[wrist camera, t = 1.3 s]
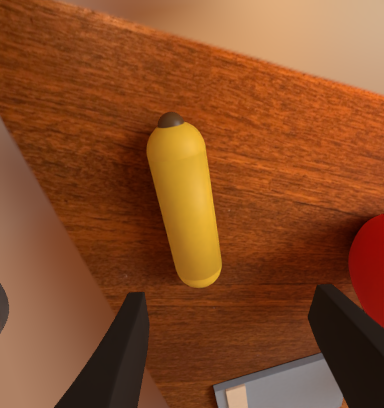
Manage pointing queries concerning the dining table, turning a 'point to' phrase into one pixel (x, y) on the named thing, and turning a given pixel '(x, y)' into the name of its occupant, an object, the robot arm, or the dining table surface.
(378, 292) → the tomato
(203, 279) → the banana
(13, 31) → the dining table surface
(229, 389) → the grey flat rectangular block
